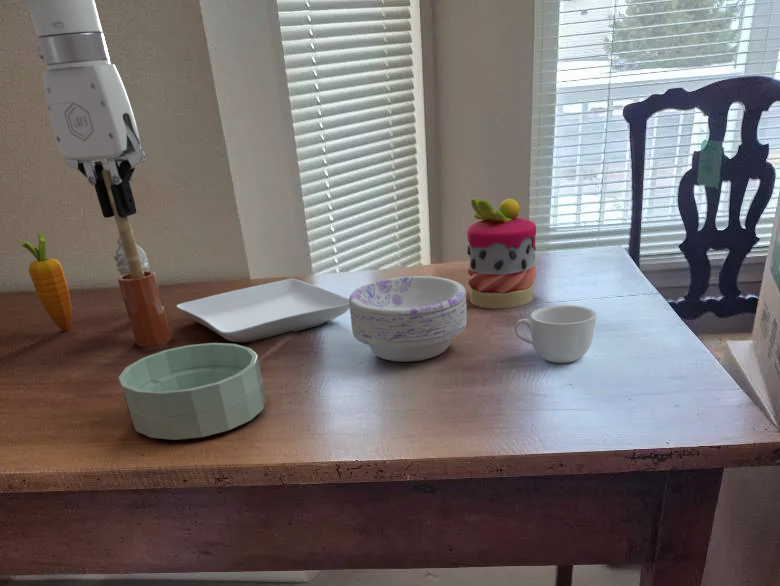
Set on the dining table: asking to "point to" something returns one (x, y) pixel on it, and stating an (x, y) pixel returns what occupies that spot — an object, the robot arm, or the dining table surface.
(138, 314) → the utensil crock
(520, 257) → the cake
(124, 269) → the ice cream cone
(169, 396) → the mixing bowl
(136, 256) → the stirring stick
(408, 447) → the dining table surface
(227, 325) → the plate
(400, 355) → the paper bowls
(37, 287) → the carrot
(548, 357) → the teacup
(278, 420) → the dining table surface
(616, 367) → the dining table surface
